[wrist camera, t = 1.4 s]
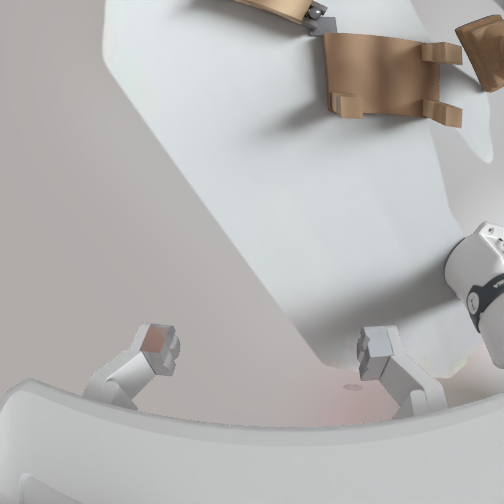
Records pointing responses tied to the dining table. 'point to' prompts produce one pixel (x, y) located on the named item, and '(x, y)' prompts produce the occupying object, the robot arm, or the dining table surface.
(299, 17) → the hinged leg
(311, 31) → the hinge bracket
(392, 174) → the dining table surface
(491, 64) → the candle holder
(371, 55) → the stool seat
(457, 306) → the dining table surface
